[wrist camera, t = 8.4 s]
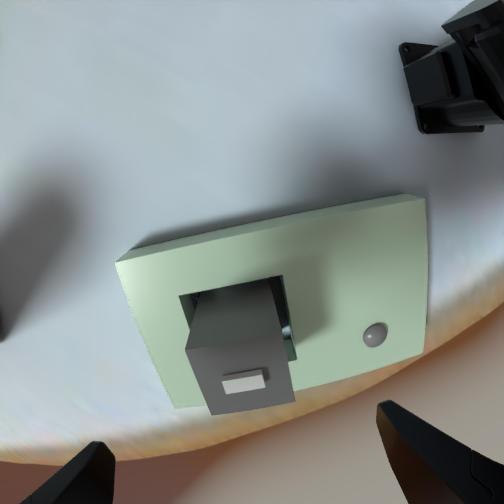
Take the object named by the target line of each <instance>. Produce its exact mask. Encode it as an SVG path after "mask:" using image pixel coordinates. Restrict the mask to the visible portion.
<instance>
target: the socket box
mask: <svg viewBox="0 0 504 504" xmlns="http://www.w3.org/2000/svg"><path fill="white" fill-rule="evenodd" d="M115 265H116V268H117V271H118V274H119V277H120V280H121V283H122V286H123V289H124V292H125V295H126V297H127V300H128V303H129V306H130V308H131V311H132V314H133V316H134V319H135V321H136V324H137V326H138V329H139V331H140V334H141V336H142V339H143V341H144V343H145V346H146V348H147V351H148V353H149V355H150V357H151V360H152V362H153V364H154V366H155V369H156V371H157V373H158V375H159V377H160V379H161V382H162V384H163V386H164V388H165V390H166V392H167V394H168V396H169V398H170V400H171V402H172V404H173V406H174V408H175V409H176V408H188V407H198V406H207V404H206V401H205V399H204V397H203V394H202V392H201V390H200V387H199V385H198V382H197V380H196V377H195V375H194V373H193V370H192V368H191V365H190V363H189V360H188V357H187V355H186V352H185V347H186V343H187V339H188V336H189V332H190V328H191V325H192V321H193V317H194V314H195V309H194V306H193V303H192V299H191V296H190V293H194V292H200V291H205V290H210V289H215V288H220V287H225V286H230V285H235V284H240V283H244V282H249V281H254V280H259V279H264V278H268V277H273V276H278V275H280V279H281V284H282V290H283V295H284V300H285V306H286V311H287V317H288V323H289V328H290V334H291V339H289V340H284V344H285V349H286V355H287V360H288V365H289V370H290V375H291V380H292V386H293V391H296V390H301V389H305V388H309V387H314V386H318V385H322V384H326V383H330V382H333V381H337V380H341V379H344V378H348V377H352V376H355V375H358V374H362V373H365V372H368V371H372V370H375V369H378V368H381V367H384V366H387V365H390V364H393V363H396V362H399V361H402V360H405V359H407V358H410V357H413V356H415V355H418V354H421V353H423V346H424V336H425V325H426V310H427V288H428V243H427V220H426V206H425V198H422V197H418V196H414V195H409V194H405V193H404V194H398V195H392V196H387V197H381V198H376V199H370V200H365V201H359V202H354V203H348V204H343V205H338V206H332V207H327V208H322V209H317V210H312V211H307V212H302V213H297V214H292V215H287V216H282V217H277V218H272V219H267V220H262V221H258V222H253V223H248V224H243V225H239V226H234V227H229V228H225V229H220V230H216V231H211V232H206V233H202V234H198V235H193V236H189V237H184V238H180V239H175V240H171V241H167V242H162V243H158V244H154V245H150V246H145V247H141V248H137V249H133V250H129V251H128V252H127V253H125V254H124V255H123V256H122V257H121V258H119V259H118V260H117V261H116V262H115Z"/></svg>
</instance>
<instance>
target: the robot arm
mask: <svg viewBox="0 0 504 504" xmlns="http://www.w3.org/2000/svg"><path fill="white" fill-rule="evenodd" d="M441 27H442V28H443V29H444V30H445V31H446V33H447V34H450V35H451V36H452V38H453V39H454V40H451V41H449V42H447V43H445V44H443V45H441V46H434V45H426V44H417V43H406V42H405V43H402V44H401V45H399V52H400V55H401V59H402V62H403V66H404V72H405V76H406V80H407V84H408V88H409V92H410V96H411V100H412V103H413V106H414V110H415V115H416V120H417V125H418V129H419V131H420V132H421V133H422V134H438V133H464V132H483V131H484V125H490V124H504V0H474V1H472V2H471V3H470V4H468V5H467V6H466V7H464V8H463V9H462V10H461V11H459V12H458V13H457V14H455V15H454V16H453V17H452V18H450V19H449V20H448V21H446V22H445V23H444V24H443V25H441ZM404 47H405V48H406V49H407V50H408V52H407V51H406V50H405V49H404ZM424 124H425V125H426V127H427V129H425V128H424ZM478 125H479V126H478ZM376 423H377V427H378V429H379V433H380V436H381V438H382V442H383V445H384V448H385V451H386V454H387V457H388V460H389V463H390V465H391V468H392V470H393V472H394V474H395V476H396V478H397V480H398V483H399V485H400V487H401V489H402V491H403V493H404V495H405V497H406V499H407V502H408V504H504V465H503V464H500V463H498V462H495V461H493V460H491V459H489V458H487V457H485V456H484V455H482V454H480V453H478V452H476V451H474V450H472V451H471V448H469V447H467V446H466V445H464V444H462V443H461V442H459V441H457V440H455V439H454V438H452V437H450V436H449V435H447V434H445V433H444V432H442V431H440V430H439V429H437V428H435V427H434V426H432V425H431V424H429V423H427V422H426V421H424V420H422V419H421V418H419V417H417V416H416V415H414V414H413V413H411V412H409V411H408V410H406V409H405V408H403V407H401V406H400V405H398V404H397V403H395V402H394V401H392V400H386V401H383V402H381V403H379V404H378V405H377V415H376ZM115 463H116V460H115V456H114V454H113V453H112V452H111V451H110V449H109V448H108V447H107V446H106V444H105V443H104V442H101V441H92V442H91V443H90V444H88V445H87V446H86V447H85V448H84V449H83V450H82V451H81V452H79V453H78V454H77V455H76V456H75V457H74V458H73V459H71V460H70V461H69V462H68V463H67V464H66V465H65V466H64V467H62V468H61V469H60V470H59V471H58V472H57V473H55V474H54V475H53V476H52V477H51V478H50V479H48V480H47V481H46V482H45V483H44V484H42V486H40V487H39V488H38V489H37V490H35V491H34V492H33V493H32V495H29V496H28V497H27V498H26V499H25V500H23V501H22V502H21V503H19V504H112V503H113V496H114V477H115Z"/></svg>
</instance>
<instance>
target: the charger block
mask: <svg viewBox="0 0 504 504" xmlns="http://www.w3.org/2000/svg"><path fill="white" fill-rule="evenodd" d="M185 352H186V355H187V357H188V360H189V363H190V365H191V368H192V370H193V373H194V375H195V377H196V380H197V382H198V385H199V387H200V390H201V392H202V394H203V397H204V399H205V401H206V404H207V406H208V408H209V410H210V413H211V415H219V414H227V413H234V412H241V411H247V410H253V409H259V408H265V407H270V406H275V405H280V404H285V403H290V402H295V396H294V391H293V386H292V380H291V375H290V370H289V365H288V360H287V355H286V349H285V344H284V339H283V334H282V330H281V326H280V322H279V318H278V314H277V310H276V306H275V302H274V298H273V294H272V290H271V287H270V283H269V279H268V278H264V279H259V280H254V281H249V282H244V283H240V284H235V285H230V286H225V287H220V288H215V289H210V290H205V291H201V292H200V296H199V299H198V303H197V306H196V310H195V314H194V317H193V321H192V325H191V328H190V332H189V336H188V339H187V343H186V347H185Z"/></svg>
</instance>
